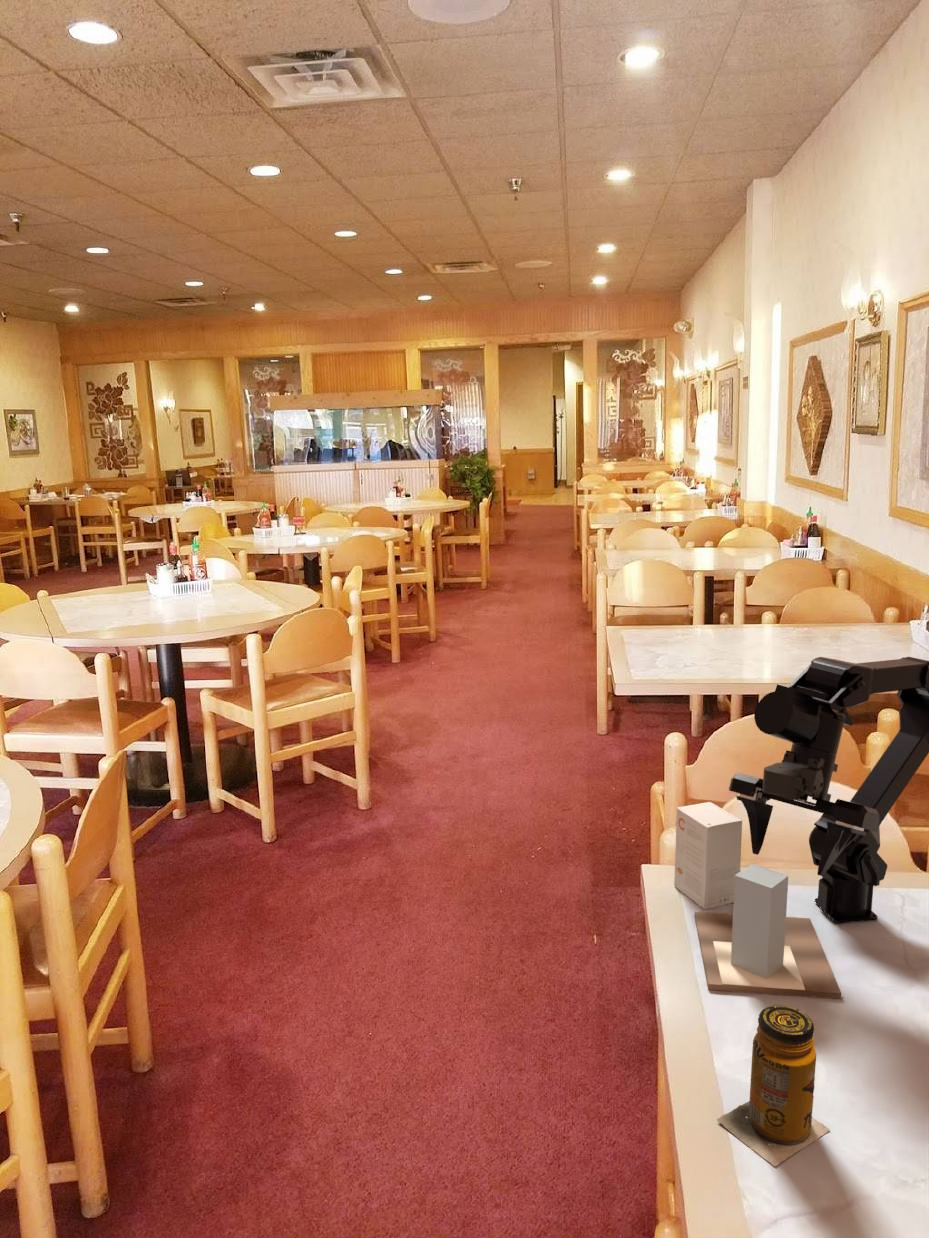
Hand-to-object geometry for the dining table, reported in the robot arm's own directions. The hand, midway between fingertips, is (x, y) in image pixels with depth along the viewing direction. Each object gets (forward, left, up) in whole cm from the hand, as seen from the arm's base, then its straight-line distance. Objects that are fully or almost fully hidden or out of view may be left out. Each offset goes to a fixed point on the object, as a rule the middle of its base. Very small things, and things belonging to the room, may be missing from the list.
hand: (786, 864), depth 124 cm
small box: (+4, -16, -13) cm, 21 cm away
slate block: (+5, +4, -11) cm, 13 cm away
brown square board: (+3, +2, -12) cm, 13 cm away
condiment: (+15, +31, -13) cm, 37 cm away
